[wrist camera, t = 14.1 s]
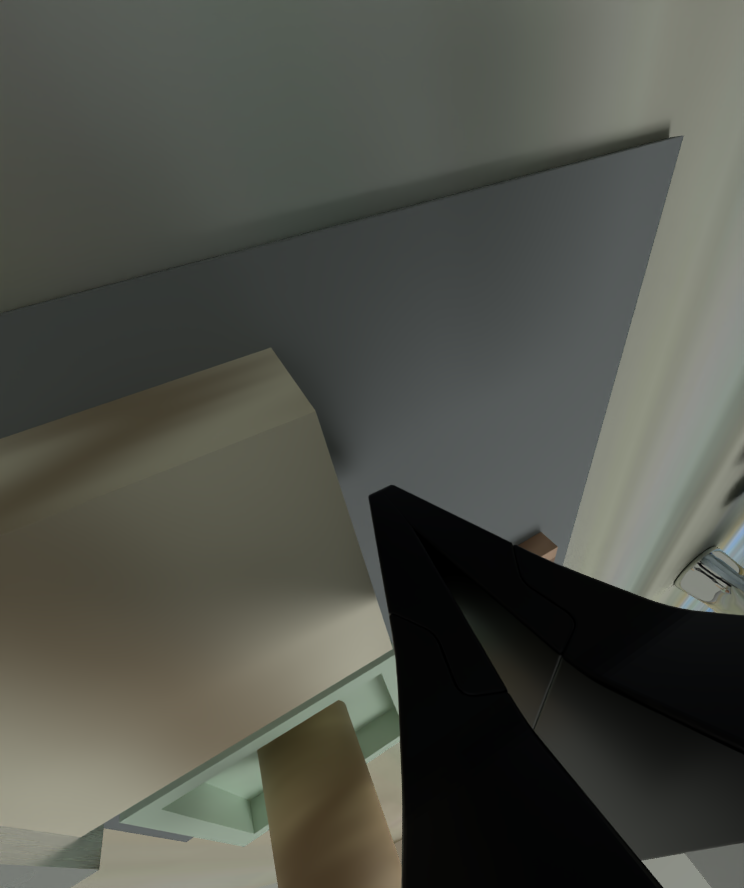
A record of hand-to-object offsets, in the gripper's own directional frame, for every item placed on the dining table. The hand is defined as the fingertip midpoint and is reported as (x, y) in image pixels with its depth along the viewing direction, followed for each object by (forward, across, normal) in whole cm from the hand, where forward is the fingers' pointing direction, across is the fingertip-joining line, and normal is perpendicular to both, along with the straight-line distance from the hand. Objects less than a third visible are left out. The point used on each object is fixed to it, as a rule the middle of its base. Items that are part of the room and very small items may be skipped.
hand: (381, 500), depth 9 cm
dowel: (+1, +6, +12) cm, 13 cm away
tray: (+1, +6, +12) cm, 13 cm away
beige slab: (+1, +5, 0) cm, 5 cm away
